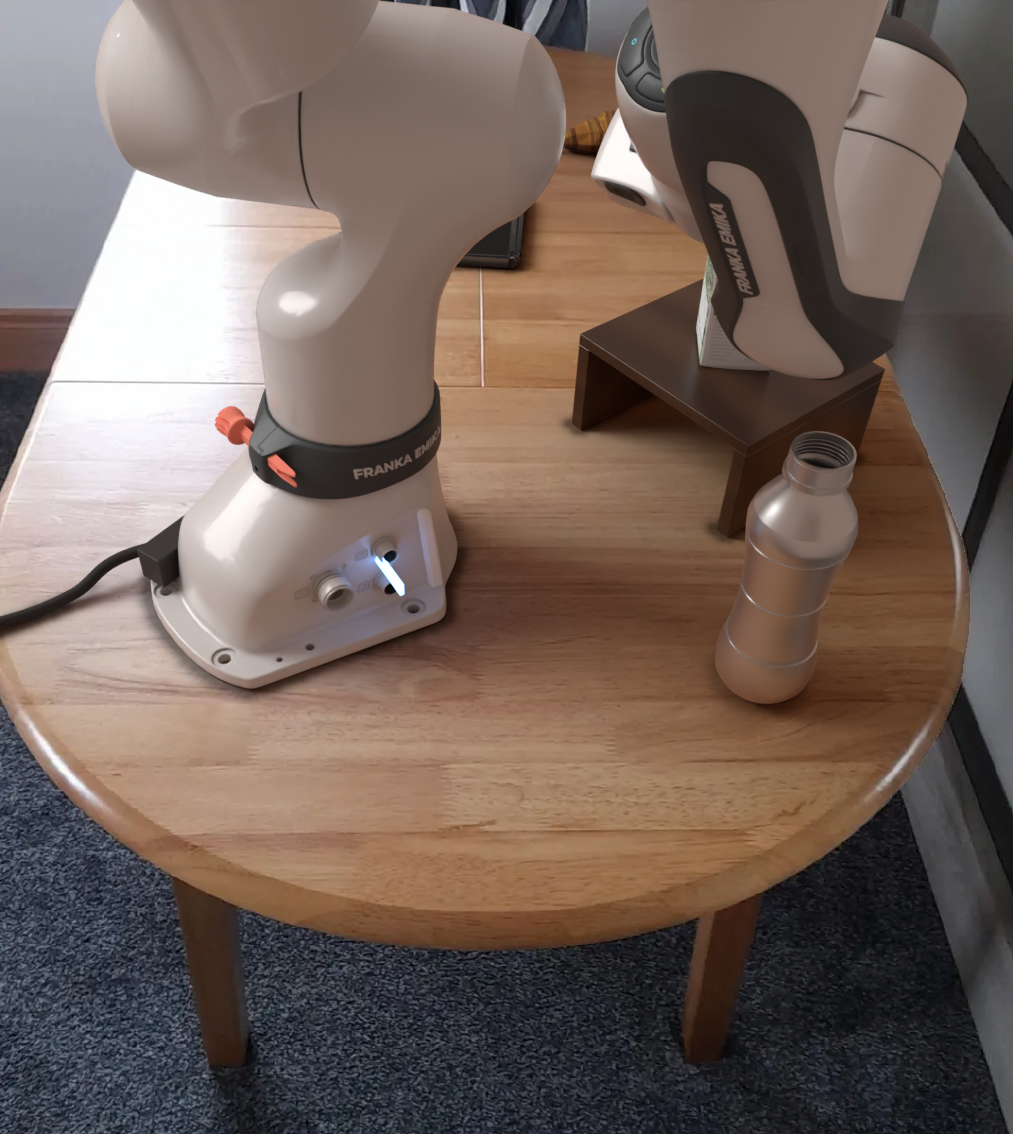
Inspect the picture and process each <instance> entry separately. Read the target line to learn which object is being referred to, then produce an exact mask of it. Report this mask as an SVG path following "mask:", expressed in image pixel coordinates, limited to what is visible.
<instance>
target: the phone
mask: <svg viewBox="0 0 1013 1134" xmlns="http://www.w3.org/2000/svg"><path fill="white" fill-rule="evenodd" d="M524 217H525V212H523V213H522V214H521V215H520V216H518V217H517V218H515V219H513V220H511V221H509V222H508V223H506V224H504V225H502V226H500V227H498V228H497V229H495V230H494V231H492V232H491V233H489V234H488V235H486V236H485V237H484V238H482V239H481V240H480V241H479V242H477V243H476V244H475V245H474V246H473V247H472V248H471V249H470V250H469V251H468V252H467V253H466V254H465V255H464V257H463V258H462V259H461V260H460V262H459V263H458V264H457V266H459V267H475V268H477V267H479V268H492V269H514V268H517V267H518V266H519V265H520V261H521V255H522V246H523V240H524V239H523V228H524Z"/></svg>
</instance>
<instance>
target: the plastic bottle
mask: <svg viewBox="0 0 1013 1134" xmlns="http://www.w3.org/2000/svg"><path fill="white" fill-rule="evenodd" d="M856 457H857V458H858V455H857V453H856V450H855V448H854V446H853V445H852V444H851V443H850V442H849V441H847V440H846V439H844V438H843V437H841V436H838V435H836V434H833V433H829V432H823V431H811V432H806V433H803V434H800V435H798V436H797V437H796V438H795V439H794V440H793V442H792V443H791V446H790V449H789V453H788V456H787V457H786V458H785V461H784V463H783V467H782V474H780V475H778V476H777V477H775V478H774V479H772V480H771V481H770V482H768V483H767V484H765V485H764V486H763V487H761V489H760V490H759V491H758V492H757V493H756V495H755V496H754V498H753V499H752V501H751V503H750V505H749V507H748V512H747V519H746V526H745V532H744V533H745V535H744V558H743V564H742V570H741V576H740V583H739V588H738V591H737V594H736V596H735V599H734V601H733V605H732V607H731V610H730V613H729V615H728V617H726V619H725V622H724V623H723V625H722V627H721V630H720V632H719V635H718V637H717V639H716V641H715V645H714V646H715V647H714V663H715V670H716V672H717V675H718V677H719V678H720V680H721V681H722V682H723V684H724V685H725V686H726V687H727V688H728V689H729V690H730V691H731V692H732V693H733V694H735V695H736V696H737V697H739V698H741V699H743V700H746V701H748V702H751V703H754V704H755V703H756V704H761V705H773V704H779V703H781V702H785V701H789V700H791V699H793V698H794V697H796V696H797V695H799V694H800V693H801V692H803V690H804V689H805V687H806V686H807V685H808V683H809V681H810V680H811V678H812V676H813V675H814V673H815V670H816V668H817V661H818V660H817V659H818V651H819V634H820V633H819V632H820V627H821V623H822V618H823V612H824V608H825V605H826V603H827V600H828V597H829V595H830V592H831V590H832V587H833V585H834V583H835V580H836V579H837V576H838V574H839V573H840V571H841V569H842V567H843V566H844V564H845V562H846V560H847V558H848V556H849V555H850V552H851V551H852V550H853V547H854V545H855V543H856V540H857V537H858V534H859V515H858V511H857V507H856V505H855V502H854V500H853V498H852V496H851V494H850V492H849V491H848V489H849V487H850V485H851V483H852V481H853V477H854V476H853V475H854V472H853V471H854V468H855V465H856V462H857V458H856Z"/></svg>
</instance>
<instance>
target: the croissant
mask: <svg viewBox="0 0 1013 1134" xmlns="http://www.w3.org/2000/svg"><path fill="white" fill-rule="evenodd" d="M617 109H618V108H617ZM617 109H611V110H606V111H603V112H602V113H600V114H599V115H597V116H595V117H591V118H589V119H587V120H584V121H582V122H579V123H578V124H575V125H573V126H572V127H570V128H569V129H568V130H566V135H565V141H564V146H563V149H565V150H568V151H571V152H572V151H573V152H577V153H584V154H598V151H599V148H600V146H601V143H602V140H603V138H604V136H605V133H606V131H607V129H608V127H609V125H610V122H611V120H612V118H613V116H614V114H615V112H616V111H617Z"/></svg>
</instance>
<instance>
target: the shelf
mask: <svg viewBox="0 0 1013 1134" xmlns="http://www.w3.org/2000/svg"><path fill="white" fill-rule="evenodd" d="M703 280H704V277H703V278H701V279H698V280H697V281H694V282H693V283H690V284H688V285H686V286H683V287H681V288H679V289H677V290H675V291H671V292H670V293H668V294H665V295H663V296H661V297H659V298H656V299H655V300H652V301H650V302H648V303H646V304H643V305H641V306H639V307H637V308H634V309H632V310H630V311H628V312H626V313H623V314H620V315H619V316H617V317H615V318H614V317H613V318H612V319H610V320H608V321H605V322H604V323H601V324H599V325H597V326H595V327H592V328H591V329H588V330H585V331H583V332H581V333H579V343H578V344H579V346H578V352H577V353H578V354H577V362H576V363H577V365H576V375H575V383H574V384H575V385H574V396H573V405H572V417H571V424H572V425H573V426H574V427H576V429H579V430H581V431H582V430H584V429H586V428H588V427H590V426H592V425H593V424H596V423H598V422H600V421H602V420H604V419H606V418H608V417H611V415H613V414H617V413H618V412H619V411H622V410H623V409H626V408H628V407H631V406H632V405H633V404H635V403H637V402H640V401H641V400H642V401H643V399H645V398H648V397H650V396H651V395H654V396H656V397H657V398H659V399H660V400H662V402H664V403H666V404H668V405H669V406H670V407H672V408H674V409H675V410H676V411H678V412H679V413H681V414H682V415H684V416H686V417H687V418H688V419H690V420H691V421H692V422H694V423H696V424H697V425H699V426H700V427H702V428H703V429H705V430H706V431H708V432H709V433H711V435H713V436H715V437H717V438H718V439H719V440H721V441H723V442H724V443H725V444H727V445H728V446H730V447H731V448H732V449H734V450H733V454H732V459H731V463H730V464H731V465H730V467H729V473H728V477H727V481H726V486H725V491H724V494H723V500H722V504H721V508H720V513H719V517H718V521H717V526H716V530H717V532H720V533H721V534H722V535H724V536H725V537H727V538H729V537H731V536H733V535H734V534H735V533H737V532H739V531H740V530H742V529H743V528H746V519H747V512H748V507H749V505H750V503H751V501H752V499H753V498H754V496H755V495H756V493H757V492H758V491H759V490H760V489H761V487H763V486H764V485H765V484H767V483H768V482H770V481H771V480H772V479H774V478H775V477H777V476H778V475H780V474H782V467H783V463H784V461H785V458H786V457H787V456H788V453H789V449H790V446H791V443H792V442H793V440H794V439H795V438H796V437H797V436H798V435H800V434H803V433H806V432H811V431H823V432H829V433H833V434H836V435H838V436H841V437H843V438H844V439H846V440H847V441H849V442H850V443H851V444H852V445H853V446H854V448H855V450H856V453H857V457H856V459H857V458H858V455H859V452H860V449H861V446H862V443H863V439H864V436H865V433H866V430H867V427H868V424H869V420H870V418H871V414H872V412H873V409H874V405H875V403H876V400H877V396H878V392H879V389H880V386H881V382H882V380H883V377H884V374H885V371H886V369H885V368H884V367H882V366H881V365H879V364H877V363H876V362H874V361H873V362H871V363H870V364H868V365H866V366H865V367H863V368H861V369H859V370H857V371H856V372H854V373H851V374H849V375H847V376H845V377H843V378H840V379H836V380H812V379H805V378H800V377H795V376H790V375H787V374H783V373H780V372H777V371H774V370H772V369H770V370H769V371H766V370H742V369H727V368H715V367H707V366H701V365H700V363H699V352H698V343H697V334H696V323H697V318H698V311H699V305H700V298H701V292H702V287H703Z"/></svg>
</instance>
